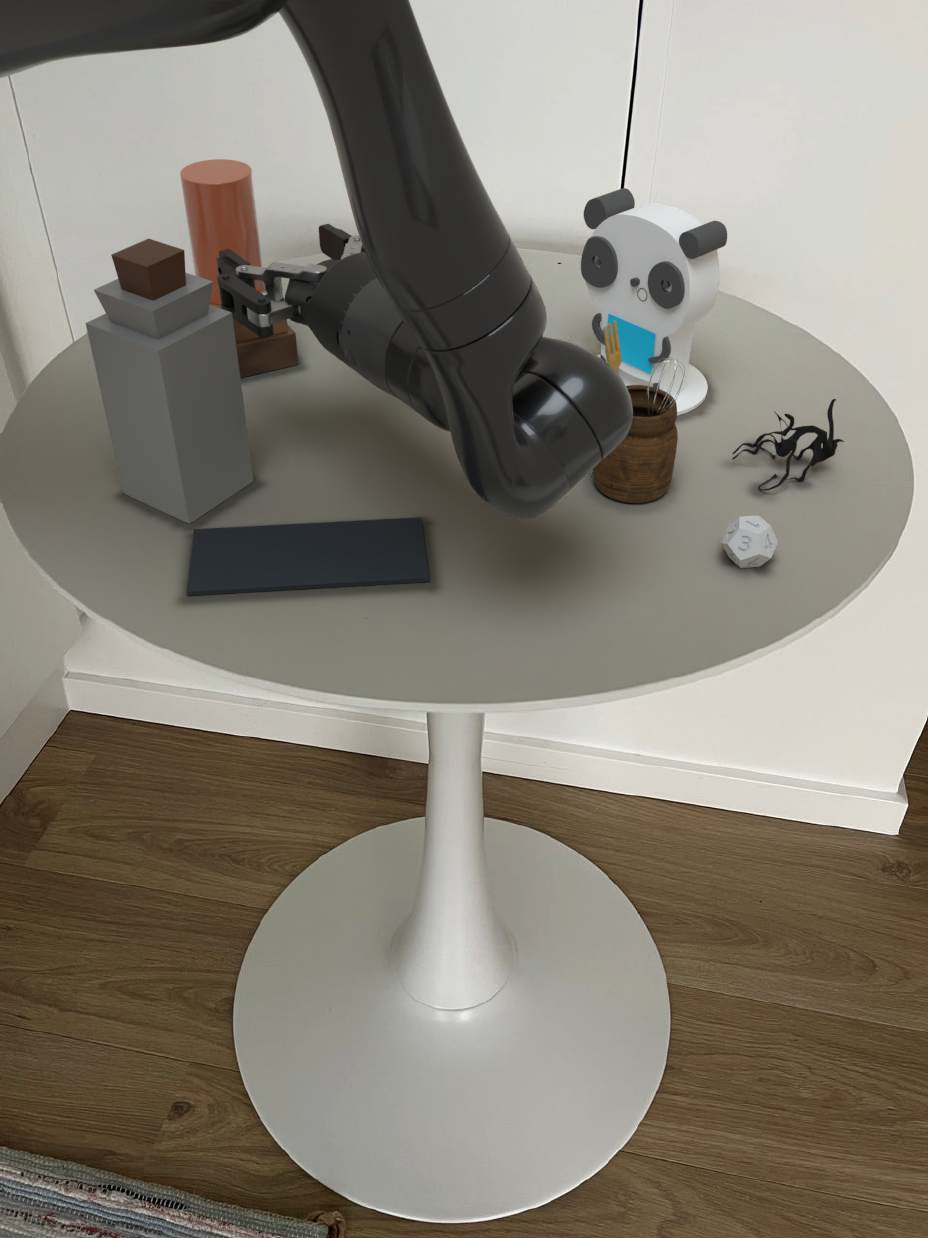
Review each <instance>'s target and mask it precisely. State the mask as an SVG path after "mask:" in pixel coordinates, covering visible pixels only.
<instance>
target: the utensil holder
mask: <svg viewBox="0 0 928 1238" xmlns="http://www.w3.org/2000/svg"><path fill="white" fill-rule="evenodd" d="M608 329H609V337H608V330H607V327H606V326H605V327H604V339H605V349H606V359H607V364H609V365H610V366H611V367H612V368H613V369H614V370H615V371H616V372H617V374H618V375H619V372H618V369H619V366H620V364H621V362H622V357H621V350H620V343H619V336H618V330H617V323H616V320H614V321H613V330H612V324H611V323H609V324H608ZM613 331H614V336H613ZM609 340H610V343H609ZM614 341H615V343H614ZM670 358H672V357H669V358H663V359H667V360H668V359H670ZM672 359H673V358H672ZM672 359H670V360H668V361H672V362H673V361H675V362H676V359H675V360H672ZM661 360H662V359H661ZM661 360H659V361H661ZM667 360H666V361H665V364H666V362H667ZM677 360H678V359H677ZM659 361H658V362H659ZM658 362H657V363H658ZM672 362H671V363H672ZM675 362H674V365H675ZM677 362H679V361H677ZM677 362H676V363H677ZM663 363H664V362H663ZM671 363H670V364H671ZM680 363H681V362H680ZM661 364H662V363H661ZM661 364H660V365H661ZM670 364H669V365H670ZM681 364H682V363H681ZM656 365H657V364H656ZM656 365H655V367H656ZM660 365H659V366H660ZM669 365H668V366H669ZM678 365H679V364H678V363H677V367H678ZM682 365H683V364H682ZM664 366H665V365H664ZM679 366H680V365H679ZM655 367H654V369H655ZM657 367H658V366H657ZM683 367H684V365H683ZM667 368H668V367H667ZM667 368H666V369H667ZM680 368H681V366H680ZM656 369H657V368H656ZM656 369H655V370H656ZM663 369H664V367H663ZM655 370H653V373H652V375H651V378H650V381H651V379H652V376H653V374H654V372H655ZM676 370H677V368H676ZM681 370H682V368H681ZM665 371H666V370H665ZM662 372H663V370H662ZM664 373H665V372H664ZM664 373H663V375H664ZM675 373H676V371H675ZM682 373H683V370H682ZM661 375H662V373H661ZM663 375H662V377H663ZM684 375H685V368H684ZM662 377H661V376H660V378H661V379H662ZM683 378H684V376H683ZM673 379H675V374H674V377H673ZM673 379H672V381H673V383H674V380H673ZM659 381H660V382H661V380H660V379H659ZM682 383H683V379H682V382H681V385H680V388H679V390H678V392H680V389H681V386H682ZM658 384H660V383H659V382H658ZM671 384H672V382H671ZM649 385H650V382H649ZM649 385H648V386H645V385H629V386H626V387H627V389H628V392H629V394H630V397H631V401H632V407H633V419H632V425H631V428H630V430H629V432H628V434H627V436H626V437H625V438H624V440H623V441H622V442H621V444H620V445H619V446H618V447H617V448H616V449H614V450H613V451H612V452H611V453H610V454H609V455H608V456H607V457H606V458H605V459H604V460H602V461H601V462H600V463H599V464H598V465H597V466H596V467H595V468H593V469H592V477H593V479H592V480H593V483H594V485H595V487H596V488H597V490H598V491H599V492H600V493H601V494H603V495H604V496H606V497H608V498H610V499H611V500H614V501H617V502H622V503H628V504H644V503H650V502H652V501H655V500H657V499H659V498H661V497H662V496H664V495H665V494H666V492H667V491H668V490H669V488H670V486H671V482H672V479H673V473H674V468H675V461H676V456H677V455H676V454H677V450H678V449H677V447H678V439H679V438H678V437H679V436H678V435H679V433H678V428H677V425H676V421H677V418H678V416H677V405H676V400H675V399H674V398H675V397H676V396H675V397H674V398H673V397H672V396H671V395H670V393H669V394H668V392H665V391H663V390H661V389H658V387H659V385H658V386H657V388H655V387H651V386H649ZM670 386H671V385H670ZM672 386H673V384H672ZM669 389H670V387H669ZM669 389H668V391H669ZM671 389H672V387H671ZM670 392H671V390H670ZM678 392H677V394H678V395H679V393H678ZM677 394H676V395H677ZM677 397H678V396H677ZM676 399H677V398H676Z"/></svg>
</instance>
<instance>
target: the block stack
mask: <svg viewBox="0 0 928 1238" xmlns="http://www.w3.org/2000/svg"><path fill="white" fill-rule="evenodd" d="M264 291H266V288H265V283H264ZM209 305H211V306H214V307H217V308H220V309H221V305H219V304H213V303H210V304H209ZM233 325H234V333H235V341H236V348H237V356H238V364H239V371H240V379H242V378H247V377H250V376H255V375H259V374H263V373H268V372H272V371H276V370H281V369H285V368H290V367H293V366H298V365H299V356H298V343H297V334H296V332H295V331H294V329H292V328H291V326H290V325H289V324H288V319H287V320H284V321H281V322H277V323H274V324H273V327H274V334H273V335H272V336H269V337H260V336H258V335H256V334H255V333H253V332H252V331H250V330H249V329H247V328H246V327H244V326H243V325H241V324H240V323H238V322H237V321H235V320H234V319H233Z"/></svg>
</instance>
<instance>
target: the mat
mask: <svg viewBox="0 0 928 1238" xmlns="http://www.w3.org/2000/svg"><path fill="white" fill-rule="evenodd" d="M192 535H193V536H192V538H193V539H192V544H191V554H190V559H189V560H190V561H189V567H188V568H189V569H188V575H187V576H188V577H187V585H186V595H187V596H188V597H191V596H193V597H194V596H207V595H225V594H226V595H227V594H242V593H259V592H261V593H262V592H276V591H279V592H280V591H296V590H311V589H312V590H313V589H314V590H315V589H330V588H344V587H345V588H348V587H365V586H378V585H379V586H382V585H383V586H384V585H399V584H414V583H415V584H417V583H418V584H419V583H430V571H429V566H428V558H427V557H428V556H427V551H426V543H425V536H424V529H423V521H422V517H421V516H420V517H419V516H418V517H417V516H416V517H400V518H399V517H398V518H381V519H380V518H379V519H362V520H360V519H359V520H342V521H341V520H340V521H323V522H321V521H320V522H303V523H285V524H267V525H265V524H264V525H247V526H228V527H208V528H194V529H193V534H192Z"/></svg>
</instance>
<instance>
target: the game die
mask: <svg viewBox="0 0 928 1238" xmlns="http://www.w3.org/2000/svg"><path fill="white" fill-rule="evenodd" d="M778 542H779V540H778V538H777V536H776V533H775V532H774V530H773V528H772V525H770V524H769V523H768V522H766V521H765V520H764V519H763V517H761V516H760V515H744V516H738V517H737V518H736V519H735V520H734V521H732V522H731V523H730V524H728V526H727V528H726V530H725V532H724V535H723V537H722V540H721V542H720V544H721V546H722V547H723V549H724V551H725V553H726V555H727V557H728V558H729V559H730V560H731V561H732V562H733V563H734V564H735V565H737V566H738V567H739V569H748V568H760V567H761V566H763V565H765V564H766V563H767V562H768V561H769V560H771V559H772V557H773V555H774V553H775V550H776V548H777V545H778Z"/></svg>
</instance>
